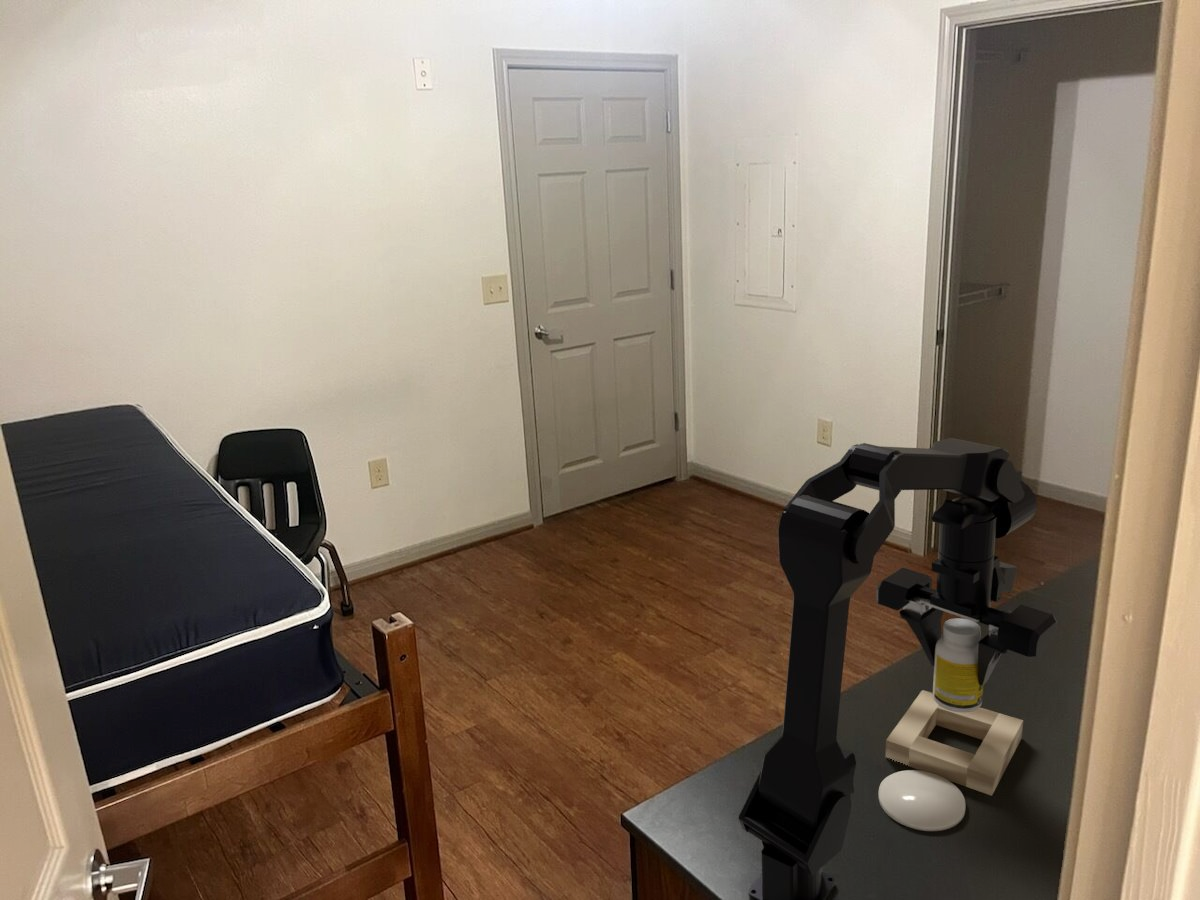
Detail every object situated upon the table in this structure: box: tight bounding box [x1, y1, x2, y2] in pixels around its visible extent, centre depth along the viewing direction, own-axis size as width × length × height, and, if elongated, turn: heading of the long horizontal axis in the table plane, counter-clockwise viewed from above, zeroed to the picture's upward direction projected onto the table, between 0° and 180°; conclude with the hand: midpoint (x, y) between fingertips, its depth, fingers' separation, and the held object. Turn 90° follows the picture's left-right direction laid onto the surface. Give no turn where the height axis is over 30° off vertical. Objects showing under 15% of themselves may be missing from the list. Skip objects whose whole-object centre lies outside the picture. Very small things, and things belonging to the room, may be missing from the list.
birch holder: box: [885, 689, 1024, 797], centre depth 107 cm, size 12×12×2 cm
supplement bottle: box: [932, 617, 984, 713], centre depth 103 cm, size 5×5×10 cm
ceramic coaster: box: [878, 769, 966, 832], centre depth 99 cm, size 9×9×1 cm
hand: (958, 674), depth 104 cm, fingers closed on supplement bottle, 5 cm apart
